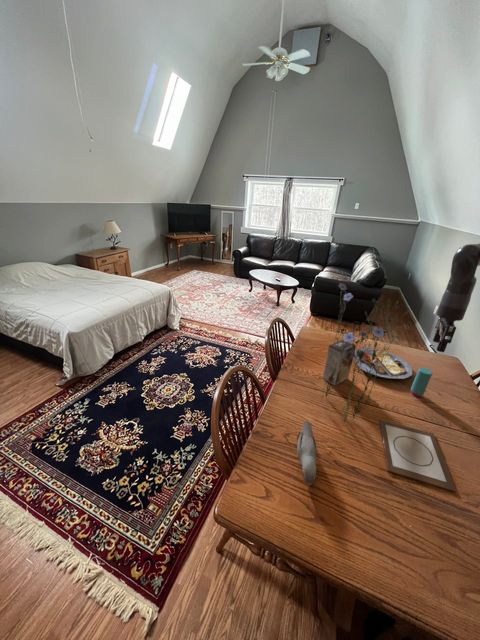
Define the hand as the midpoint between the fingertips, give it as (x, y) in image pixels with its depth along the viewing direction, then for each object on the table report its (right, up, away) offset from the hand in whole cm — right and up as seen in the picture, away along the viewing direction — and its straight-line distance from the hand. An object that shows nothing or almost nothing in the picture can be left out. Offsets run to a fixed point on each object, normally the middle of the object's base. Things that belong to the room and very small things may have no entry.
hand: (438, 346), depth 97 cm
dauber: (-3, -20, +8) cm, 21 cm away
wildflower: (-37, -23, -2) cm, 43 cm away
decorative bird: (-54, -31, -21) cm, 65 cm away
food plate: (-9, -11, +25) cm, 29 cm away
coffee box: (-32, -15, +15) cm, 39 cm away
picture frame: (-20, -30, -17) cm, 40 cm away
